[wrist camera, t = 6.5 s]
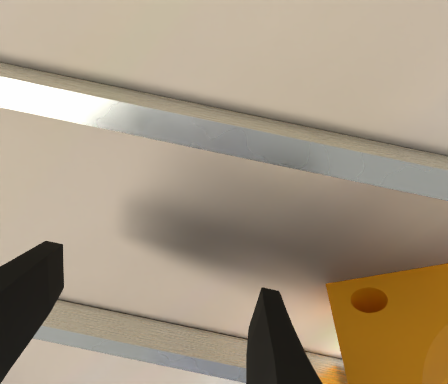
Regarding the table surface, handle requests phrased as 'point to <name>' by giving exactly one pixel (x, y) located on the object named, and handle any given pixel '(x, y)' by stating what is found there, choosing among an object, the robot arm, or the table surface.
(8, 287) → the robot arm
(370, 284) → the pipe clamp
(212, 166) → the table surface
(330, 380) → the rail
